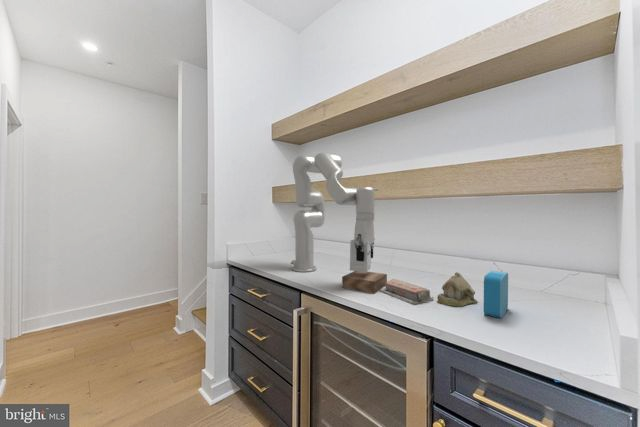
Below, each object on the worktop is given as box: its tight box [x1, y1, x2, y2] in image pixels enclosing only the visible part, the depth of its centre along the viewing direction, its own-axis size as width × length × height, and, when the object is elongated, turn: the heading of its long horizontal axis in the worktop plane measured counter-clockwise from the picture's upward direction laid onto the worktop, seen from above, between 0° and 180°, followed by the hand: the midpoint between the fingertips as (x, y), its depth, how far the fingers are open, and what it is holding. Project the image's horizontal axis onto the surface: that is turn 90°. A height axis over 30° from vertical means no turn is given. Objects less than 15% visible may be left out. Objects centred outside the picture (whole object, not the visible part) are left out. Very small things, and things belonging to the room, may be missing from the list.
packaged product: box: [378, 278, 434, 306], centre depth 102 cm, size 18×5×10 cm
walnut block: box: [341, 271, 388, 294], centre depth 113 cm, size 14×14×5 cm
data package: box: [483, 270, 509, 319], centre depth 85 cm, size 12×4×12 cm, turn 137°
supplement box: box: [349, 239, 372, 272], centre depth 114 cm, size 7×7×13 cm
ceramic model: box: [436, 272, 478, 307], centre depth 96 cm, size 14×11×10 cm
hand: (364, 259), depth 113 cm, fingers closed on supplement box, 8 cm apart
